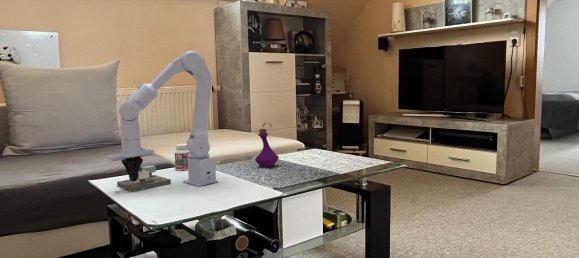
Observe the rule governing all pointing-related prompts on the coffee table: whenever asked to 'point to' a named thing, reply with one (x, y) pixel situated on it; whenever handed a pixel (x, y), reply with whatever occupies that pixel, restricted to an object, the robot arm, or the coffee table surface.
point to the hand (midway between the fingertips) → (133, 180)
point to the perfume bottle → (266, 151)
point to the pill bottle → (181, 157)
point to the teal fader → (149, 169)
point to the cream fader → (142, 175)
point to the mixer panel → (144, 183)
